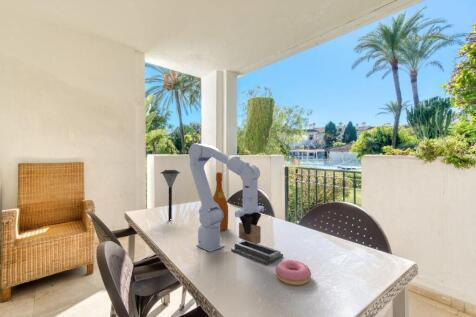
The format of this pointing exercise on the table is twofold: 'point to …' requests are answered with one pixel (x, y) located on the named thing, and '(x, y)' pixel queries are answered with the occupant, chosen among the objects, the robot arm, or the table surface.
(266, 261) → the floor track
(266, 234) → the table surface
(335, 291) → the table surface
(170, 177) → the solar garden light
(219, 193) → the wine bottle
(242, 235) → the door panel
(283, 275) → the doughnut
